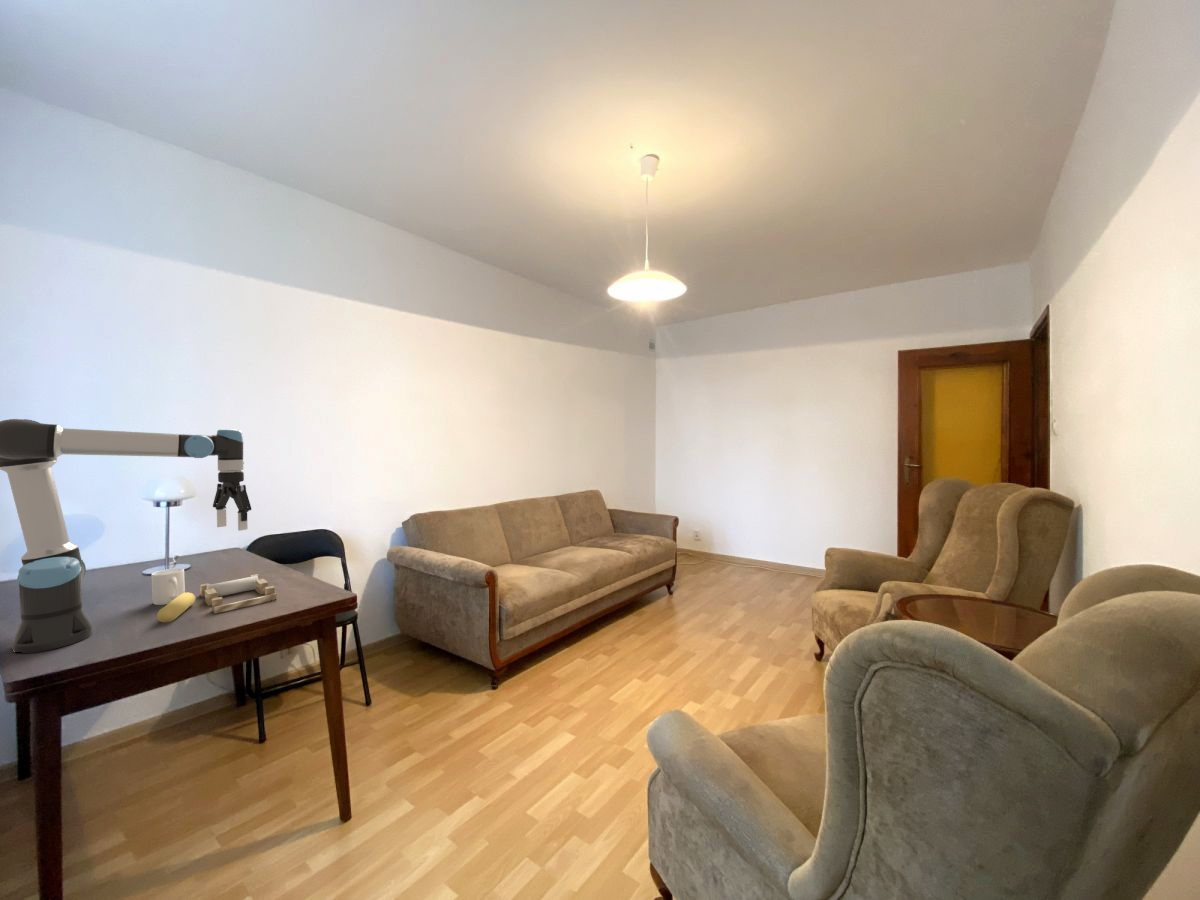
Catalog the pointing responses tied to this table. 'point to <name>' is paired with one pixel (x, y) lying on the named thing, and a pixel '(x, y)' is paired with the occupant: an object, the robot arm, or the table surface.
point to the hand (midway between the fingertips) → (232, 528)
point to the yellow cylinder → (176, 607)
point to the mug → (167, 585)
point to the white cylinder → (234, 586)
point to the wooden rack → (219, 607)
